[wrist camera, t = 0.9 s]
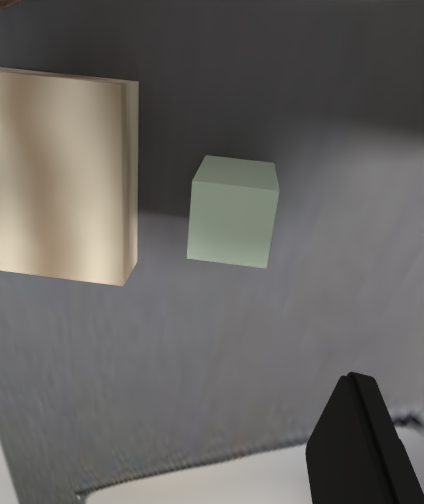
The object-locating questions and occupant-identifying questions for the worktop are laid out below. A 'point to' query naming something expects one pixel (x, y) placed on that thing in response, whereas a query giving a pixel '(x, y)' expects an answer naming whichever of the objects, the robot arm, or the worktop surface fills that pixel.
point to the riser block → (68, 175)
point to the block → (232, 211)
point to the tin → (8, 3)
